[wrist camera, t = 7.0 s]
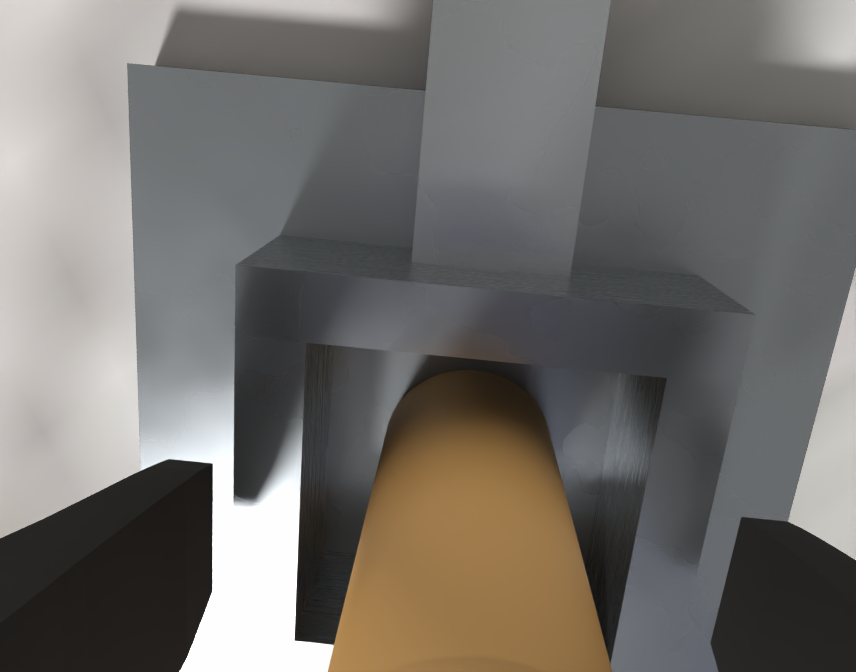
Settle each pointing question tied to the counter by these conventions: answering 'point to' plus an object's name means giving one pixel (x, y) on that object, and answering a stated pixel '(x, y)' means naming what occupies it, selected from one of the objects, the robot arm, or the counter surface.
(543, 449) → the round-ended pin
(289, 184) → the grey slotted socket block
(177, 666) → the robot arm
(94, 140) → the counter surface
